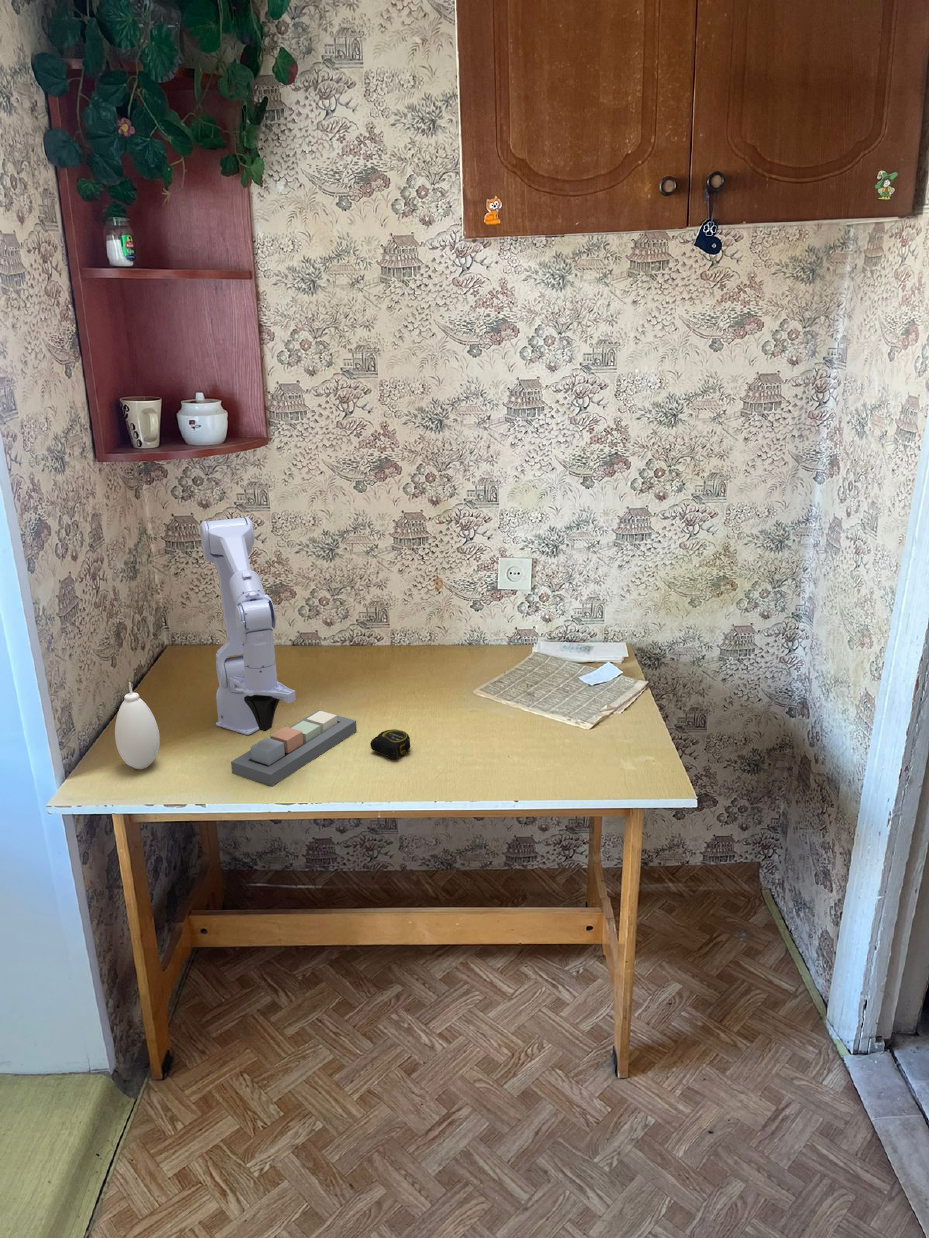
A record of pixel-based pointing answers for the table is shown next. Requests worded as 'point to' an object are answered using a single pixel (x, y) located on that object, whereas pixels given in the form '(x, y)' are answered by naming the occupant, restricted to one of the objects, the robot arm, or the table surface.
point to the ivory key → (323, 720)
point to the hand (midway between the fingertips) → (265, 728)
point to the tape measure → (391, 743)
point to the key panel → (293, 755)
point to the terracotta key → (288, 738)
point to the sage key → (308, 730)
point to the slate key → (267, 751)
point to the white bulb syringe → (136, 732)
